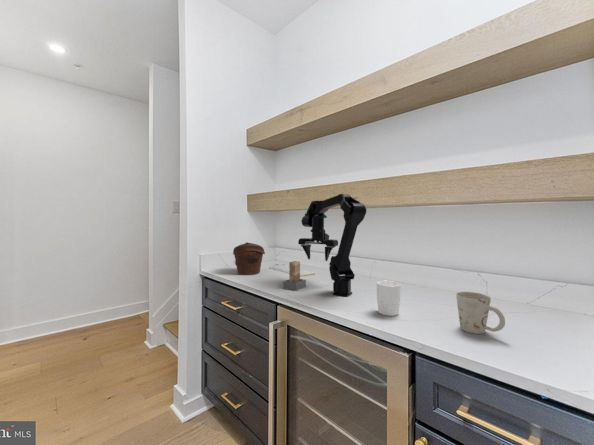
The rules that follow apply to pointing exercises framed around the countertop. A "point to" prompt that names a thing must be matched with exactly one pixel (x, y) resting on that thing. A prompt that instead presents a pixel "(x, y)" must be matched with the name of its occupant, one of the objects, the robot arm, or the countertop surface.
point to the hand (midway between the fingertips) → (317, 260)
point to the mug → (476, 312)
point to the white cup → (388, 297)
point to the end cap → (294, 285)
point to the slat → (294, 271)
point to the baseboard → (286, 270)
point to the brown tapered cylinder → (248, 258)
